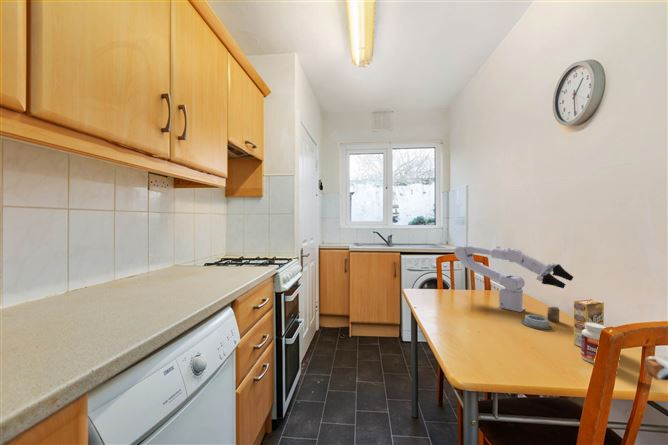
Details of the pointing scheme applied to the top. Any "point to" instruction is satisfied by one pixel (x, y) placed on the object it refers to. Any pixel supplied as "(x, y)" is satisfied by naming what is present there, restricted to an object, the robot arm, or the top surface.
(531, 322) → the collar socket
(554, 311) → the walnut peg
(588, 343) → the pill bottle
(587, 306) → the candy box
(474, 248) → the robot arm
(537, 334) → the top surface
